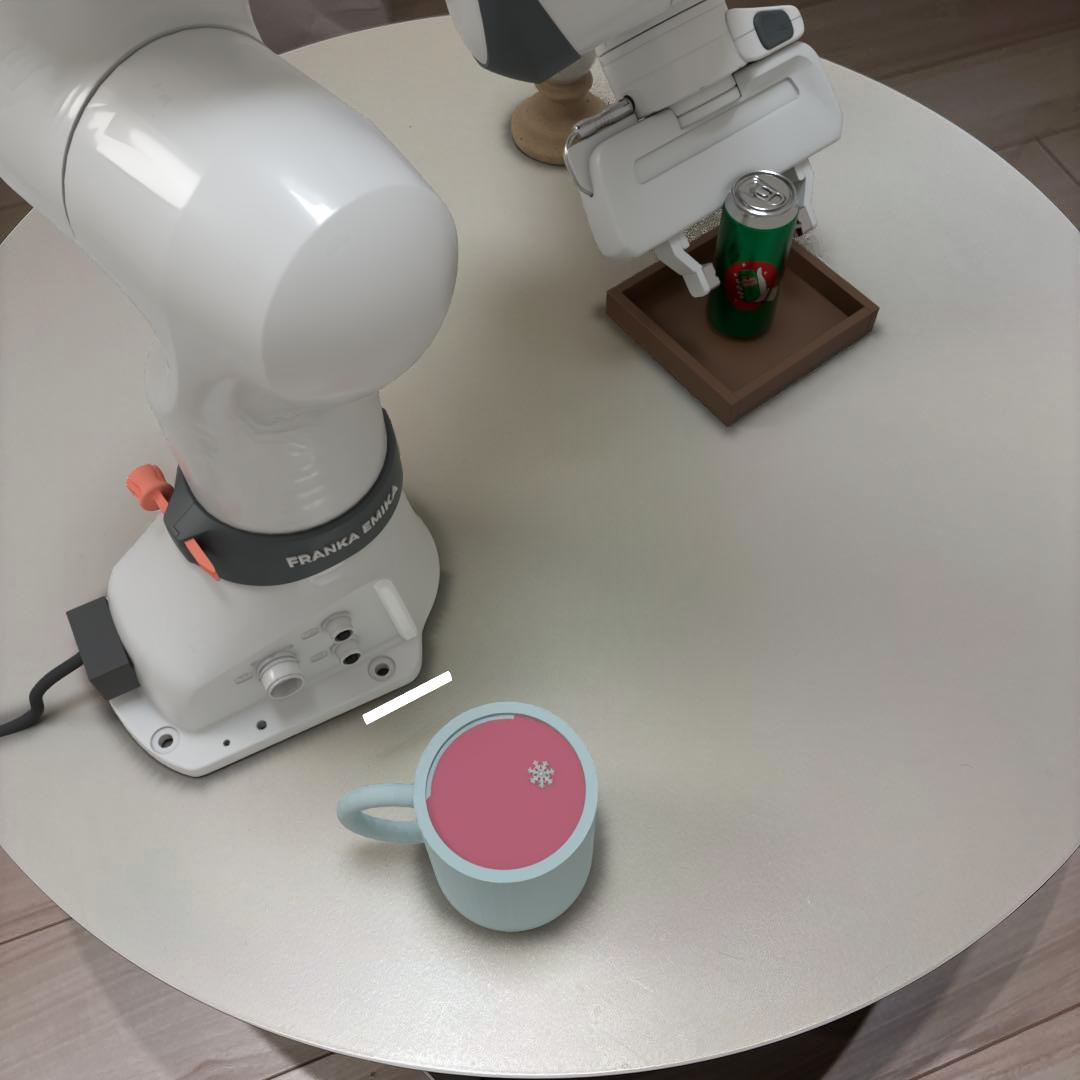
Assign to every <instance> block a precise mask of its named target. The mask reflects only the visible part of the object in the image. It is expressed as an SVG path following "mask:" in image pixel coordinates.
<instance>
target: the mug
mask: <svg viewBox="0 0 1080 1080" xmlns="http://www.w3.org/2000/svg"><path fill="white" fill-rule="evenodd" d="M416 767H417V768H416V771H415V775H414V780H413V783H404V782H386V783H385V782H384V783H376V784H375V783H374V784H369V785H368V784H367V785H364V786H360V787H357V788H354V789H352V790H351V791H348V792H346V793H345V794H344V795H343V796H342V797H341V798H340V799H339V801H338V802H337V805H336V808H335V809H336V817H337V820H338V821H339V823H340V824H341V825H342V827H344V828H345V829H347V831H350V832H352V833H354V834H355V835H359V836H360V837H364V838H367V839H371V840H374V841H379V842H386V843H393V844H407V845H408V844H411V845H412V844H424V846H425V849H426V851H427V855H428V857H429V861H430V863H431V867H432V870H433V872H434V875H435V878H436V881H437V884H438V886H439V888H440V890H441V892H442V894H443V895H444V897H445V898H446V900H447V901H448V902H449V903H450V905H451V906H452V907H453V908H454V909H455V911H457V912H458V913H459V914H460V915H461V916H463V918H466V919H467V920H469V921H470V922H472V923H474V924H476V925H477V926H480V927H482V928H486V929H489V930H493V931H496V932H506V933H514V932H515V933H517V932H525V931H530V930H533V929H536V928H540V927H542V926H544V925H547V924H549V923H551V922H552V921H553V920H556V919H557V918H558V917H560V916H561V915H562V914H563V913H565V912H566V911H567V910H568V909H570V907H571V906H572V905H573V904H574V903H575V902H576V900H577V898H578V897H579V896H580V894H581V893H582V891H583V889H584V887H585V886H586V883H587V880H588V879H589V875H590V872H591V869H592V865H593V864H592V862H593V856H594V855H593V854H594V845H595V833H596V824H597V823H596V822H597V811H598V802H599V800H598V799H599V781H598V774H597V770H596V765H595V763H594V760H593V757H592V755H591V753H590V751H589V748H588V746H587V745H586V743H585V742H584V740H583V739H582V737H581V736H580V735H579V733H578V732H576V730H575V729H574V728H573V727H572V726H571V725H570V724H569V723H568V722H566V721H565V720H564V719H563V718H561V717H560V716H559V715H556V714H555V713H553V712H551V711H549V710H547V709H545V708H542V707H540V706H537V705H534V704H531V703H525V702H521V701H520V702H519V701H497V702H490V703H484V704H481V705H478V706H475V707H472V708H470V709H468V710H466V711H464V712H462V713H460V714H458V715H457V716H455V717H454V718H453V719H451V720H450V721H448V722H447V723H446V724H444V725H443V726H442V727H441V728H440V729H439V730H438V731H437V732H436V734H435V735H434V736H432V739H431V740H430V741H429V743H428V744H427V746H426V747H425V749H424V751H423V752H422V754H421V757H420V759H419V762H418V765H417V766H416ZM387 807H388V808H391V807H395V808H396V807H397V808H412V809H414V814H415V816H416V821H403V820H401V821H400V820H392V819H385V818H381V817H380V818H379V817H376V816H373V815H370V814H367V813H364V812H363V811H366V810H369V809H376V808H377V809H378V808H387Z"/></svg>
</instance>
